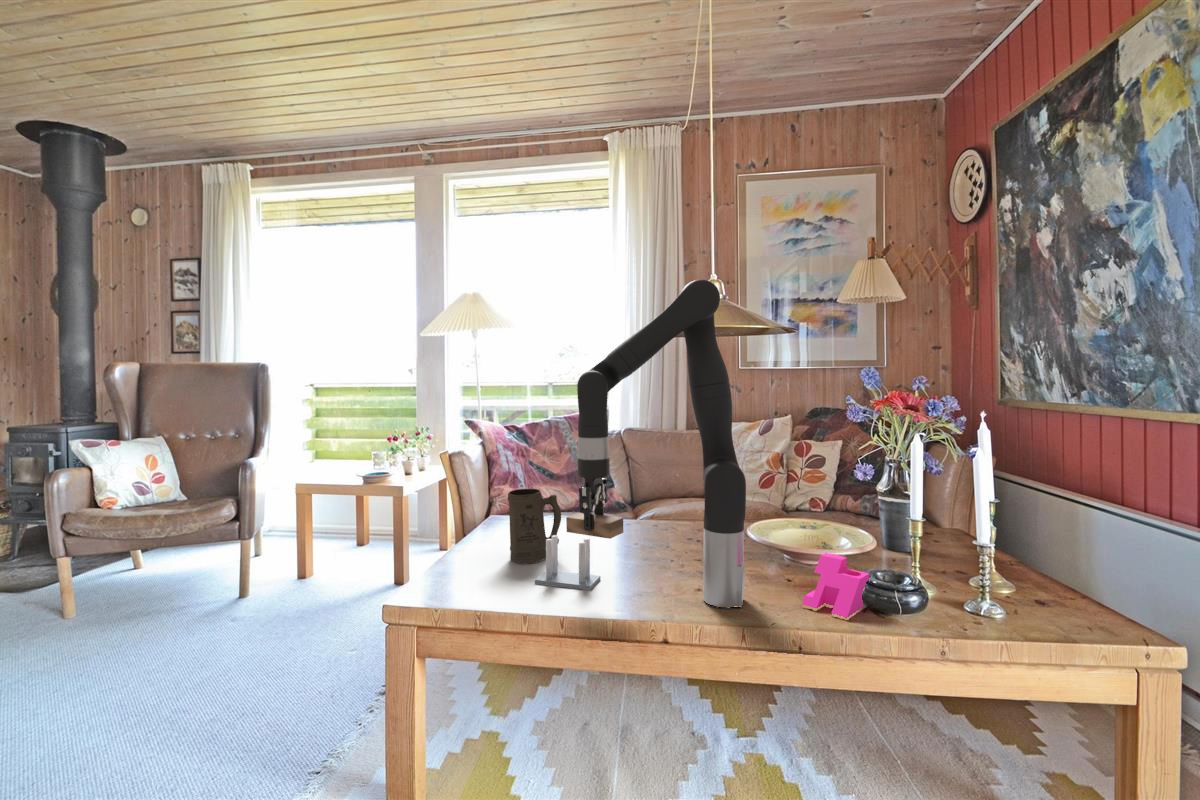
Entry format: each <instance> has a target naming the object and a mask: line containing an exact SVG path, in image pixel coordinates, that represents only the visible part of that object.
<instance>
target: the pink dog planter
mask: <svg viewBox="0 0 1200 800" xmlns="http://www.w3.org/2000/svg"><path fill="white" fill-rule="evenodd" d="M814 573H815V574H818V575H820V577H819V579H818V582H817V585H816V588H815V589H814V590H812V591H810V592H808V593H807V594H805V595H804V598H803V601H802V603H801V605H802V604H803V605H807V606H810V607H813V608H818V607H820V606H821V605H823V604H824V603H826V604H829V605H833V606H834V607H833V609H832V610H831V613H833V614H837V615H839V616H843V617H845V618H847V617H849V616H850V615H852V614H853V613H855V612H856V611H857V610H859V609H860V608H861V607H863V605H864V604H863V600H862V592H863V589H864V587H865V585H866V582H867V581H868V580H869V581H870V573H868V572H863V571H859V570H856V569H852V568H848V557H847V556H843V555H842V556H841V555H839V554H838V555H836V554H831V553H829V552H825V553H822V554H821V555H820V556H819V559H818V561H817V564H816V567H815V569H814Z"/></svg>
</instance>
